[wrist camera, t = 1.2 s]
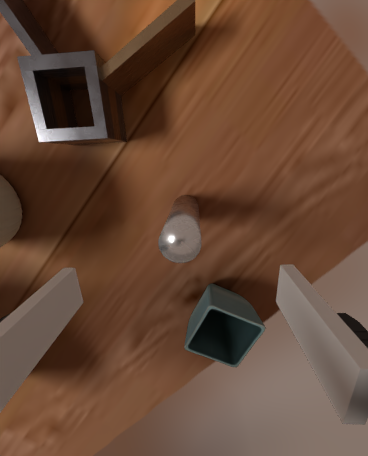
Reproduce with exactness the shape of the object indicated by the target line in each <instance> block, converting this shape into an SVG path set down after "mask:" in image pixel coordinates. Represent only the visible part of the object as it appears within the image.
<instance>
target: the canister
mask: <svg viewBox="0 0 368 456" xmlns="http://www.w3.org/2000/svg"><path fill="white" fill-rule="evenodd" d="M21 219H22V209H21V204H20V199H19V198H18V196H17V193H16V192H15V191H14V189H13V187H12V186H11V185H10V184H9V182H8V181H6V180H5V179H4V177H3V176H1V175H0V247H2V246H3V245H5V244H6V243H7V242H9V241H10V240H11V239H12V238H13V237H14V236H15V235H16V233H17V231H18V230H19V228H20V225H21V222H22V221H21Z"/></svg>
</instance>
